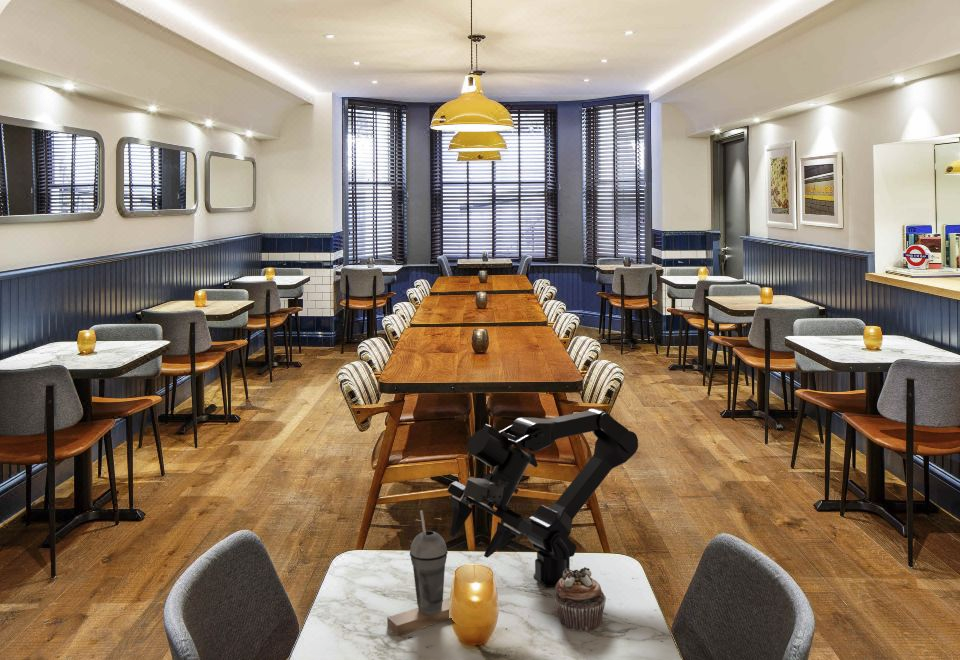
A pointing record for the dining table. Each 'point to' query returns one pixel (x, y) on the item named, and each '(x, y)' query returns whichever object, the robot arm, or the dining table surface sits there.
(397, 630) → the walnut block
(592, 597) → the cupcake
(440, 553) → the beverage cup
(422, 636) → the dining table surface
